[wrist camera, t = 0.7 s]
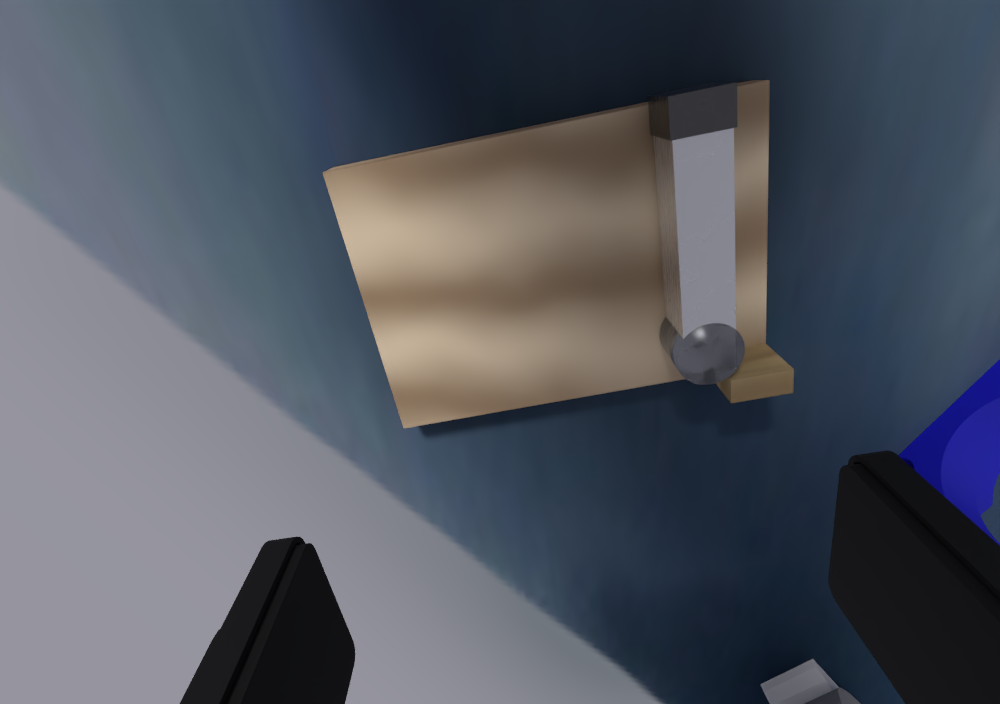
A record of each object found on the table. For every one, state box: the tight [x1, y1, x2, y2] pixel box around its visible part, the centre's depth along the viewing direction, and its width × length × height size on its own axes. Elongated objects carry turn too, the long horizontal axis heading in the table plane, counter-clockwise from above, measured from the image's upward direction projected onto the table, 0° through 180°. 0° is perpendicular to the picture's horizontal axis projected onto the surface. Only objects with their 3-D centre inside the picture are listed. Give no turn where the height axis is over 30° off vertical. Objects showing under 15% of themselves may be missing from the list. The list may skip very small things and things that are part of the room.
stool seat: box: [323, 80, 794, 428], centre depth 27 cm, size 14×20×5 cm
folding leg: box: [648, 82, 745, 385], centre depth 25 cm, size 13×3×3 cm, turn 11°
